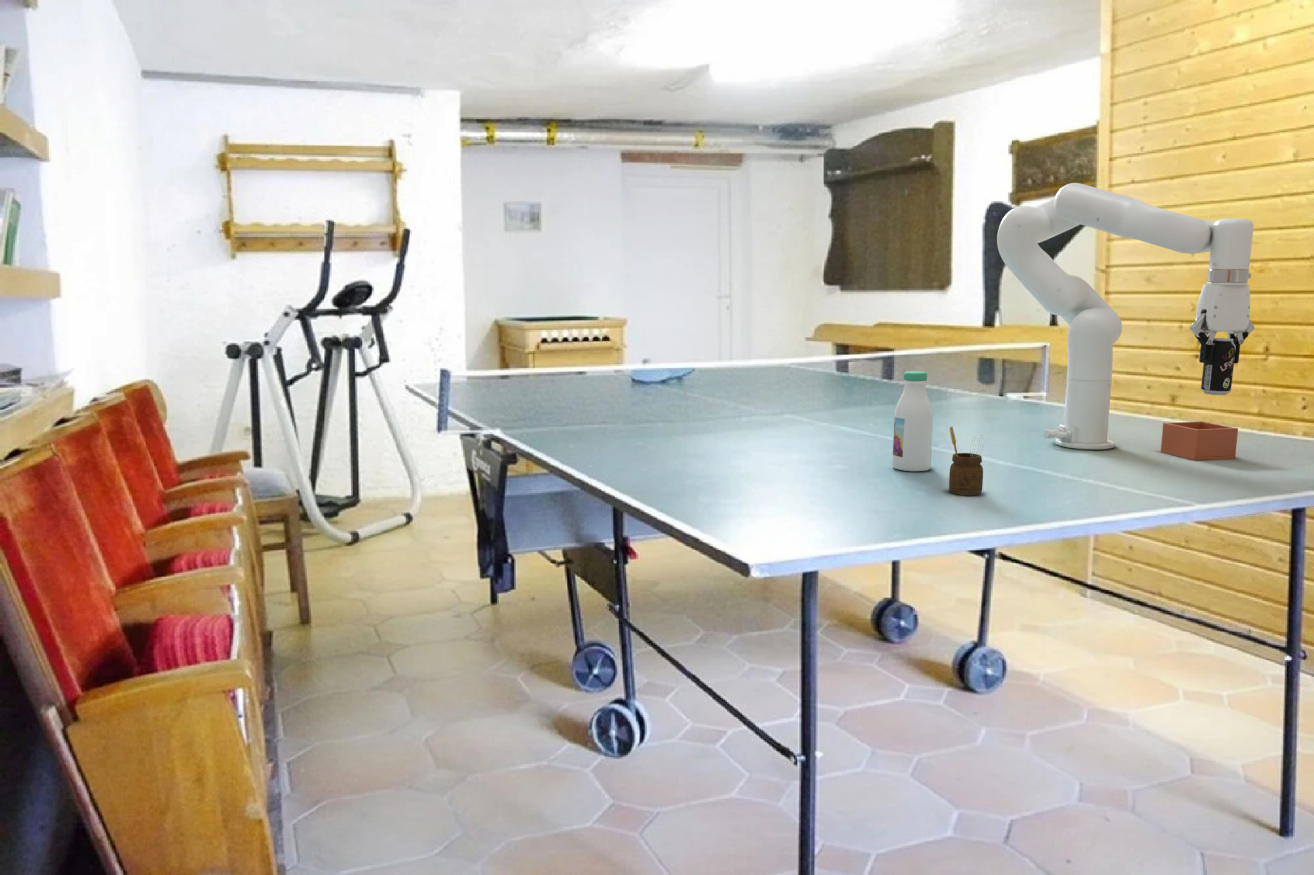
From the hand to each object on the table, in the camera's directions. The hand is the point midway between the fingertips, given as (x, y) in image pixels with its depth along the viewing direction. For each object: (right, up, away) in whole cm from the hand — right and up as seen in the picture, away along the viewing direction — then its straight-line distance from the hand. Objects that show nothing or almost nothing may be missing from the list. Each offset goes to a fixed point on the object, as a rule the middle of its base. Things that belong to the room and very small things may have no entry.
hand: (1218, 362), depth 218 cm
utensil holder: (-64, -27, -31) cm, 76 cm away
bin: (-1, -20, +6) cm, 21 cm away
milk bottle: (-68, -23, -9) cm, 73 cm away
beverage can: (0, -7, +1) cm, 7 cm away
